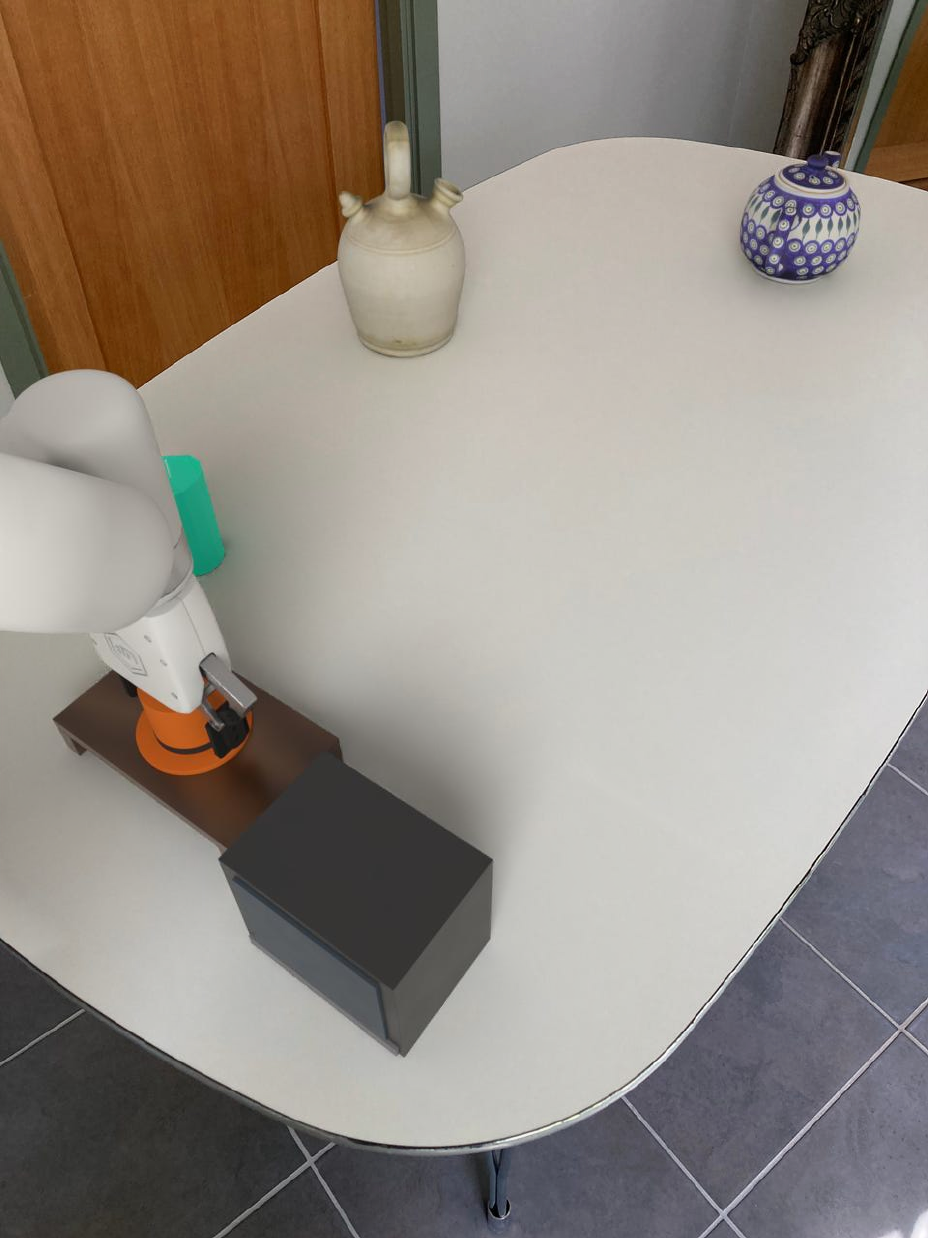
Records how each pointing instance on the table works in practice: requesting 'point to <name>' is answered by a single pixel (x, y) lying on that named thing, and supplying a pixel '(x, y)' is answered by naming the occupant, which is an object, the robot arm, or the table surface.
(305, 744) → the stand
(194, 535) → the candle
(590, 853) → the table surface
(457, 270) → the jug
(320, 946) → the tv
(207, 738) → the hat
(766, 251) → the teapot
